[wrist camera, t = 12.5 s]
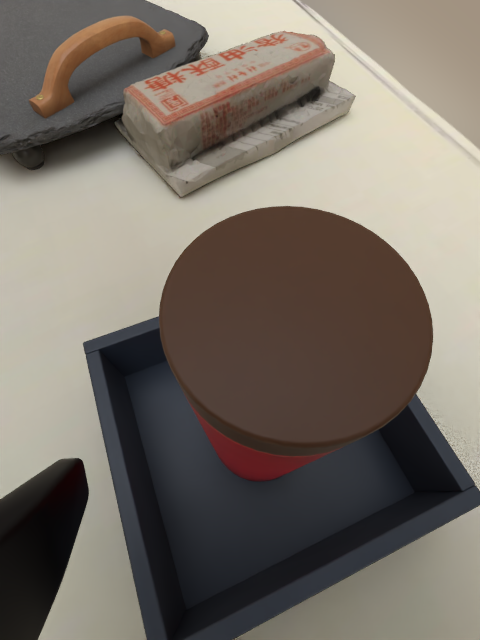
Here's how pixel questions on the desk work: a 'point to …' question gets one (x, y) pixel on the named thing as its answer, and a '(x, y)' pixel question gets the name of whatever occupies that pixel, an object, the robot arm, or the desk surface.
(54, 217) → the desk surface
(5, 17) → the serving tray
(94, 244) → the desk surface
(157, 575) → the desk bin
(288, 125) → the packaged product
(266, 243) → the candy tube
